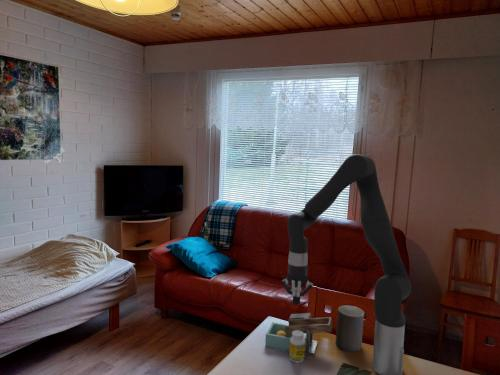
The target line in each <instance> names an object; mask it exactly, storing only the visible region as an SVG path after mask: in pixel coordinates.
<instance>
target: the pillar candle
mask: <svg viewBox="0 0 500 375" xmlns="http://www.w3.org/2000/svg"><path fill="white" fill-rule="evenodd" d="M364 320H365V312H364V310H362V309H361V308H359V307H357V306H353V305H345V304H344V305H341V306H339V307H338V308H337V319H336V334H335V342H334V343H335V346H337V348H339V349H340V350H343V351H345V352H351V351H353V352H358V351H361V349H362V344H363V335H364V334H363V333H364V332H363V330H364Z"/></svg>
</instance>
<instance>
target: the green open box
mask: <svg viewBox="0 0 500 375" xmlns="http://www.w3.org/2000/svg"><path fill="white" fill-rule="evenodd" d="M288 325H289V324H283V323H278V322H271V324H270V326H269V328H268V330H267V331H266V333H265V345H264V347H265V348H269V349H275V350H279V351H284V352H289V353H290V338H291V337H292V334H286V337H284V336H279V335H276V334H277V332H278V331H284V332H285V333H286V329H285V326H288Z"/></svg>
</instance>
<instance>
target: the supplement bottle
mask: <svg viewBox="0 0 500 375" xmlns="http://www.w3.org/2000/svg"><path fill="white" fill-rule="evenodd" d="M304 334H305V333H303V332H302V331H299V330H295V331H293V332H292V337H291V338H290V352H289V357H288V358H289V360H290V361H291V362H294V363H296V364H297V363H302V362H304V361H305V355H306V354H305V339H306V338H304V336H305V335H304Z"/></svg>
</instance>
